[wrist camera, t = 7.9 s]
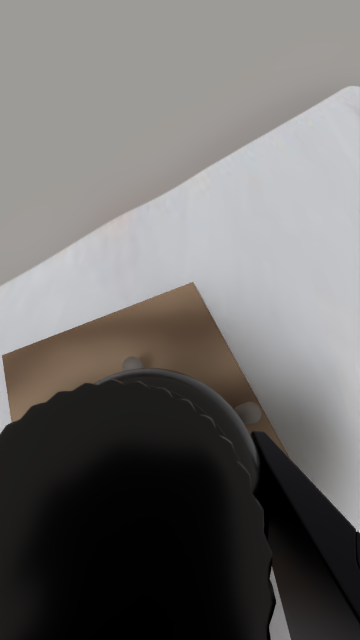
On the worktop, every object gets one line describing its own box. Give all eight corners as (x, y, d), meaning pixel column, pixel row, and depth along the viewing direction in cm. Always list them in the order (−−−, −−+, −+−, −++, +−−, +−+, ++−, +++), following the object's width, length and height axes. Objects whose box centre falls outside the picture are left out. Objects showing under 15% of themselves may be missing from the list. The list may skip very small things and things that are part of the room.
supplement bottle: (86, 492, 14) (-345, 750, 3) (142, 379, 16) (40, 272, 5) (200, 560, 12) (288, 1693, 1) (242, 425, 15) (393, 410, 4)
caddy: (317, 516, 15) (351, 539, 12) (57, 674, 12) (17, 754, 9) (192, 287, 22) (194, 264, 19) (9, 358, 19) (-24, 345, 16)
